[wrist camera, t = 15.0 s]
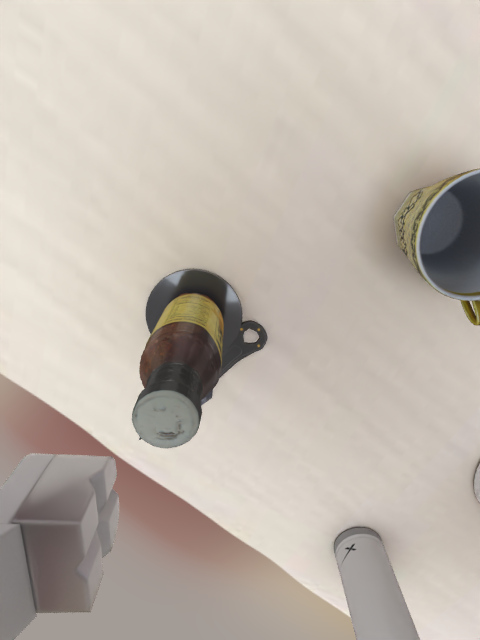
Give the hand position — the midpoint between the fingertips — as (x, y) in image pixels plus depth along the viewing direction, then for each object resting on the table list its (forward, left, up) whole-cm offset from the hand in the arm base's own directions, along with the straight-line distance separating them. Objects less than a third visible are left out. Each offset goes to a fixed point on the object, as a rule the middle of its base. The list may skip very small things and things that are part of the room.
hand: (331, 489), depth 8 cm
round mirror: (+6, +9, -35) cm, 37 cm away
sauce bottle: (+6, +9, -35) cm, 37 cm away
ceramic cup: (-17, 0, -35) cm, 39 cm away
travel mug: (-15, +40, -35) cm, 55 cm away
